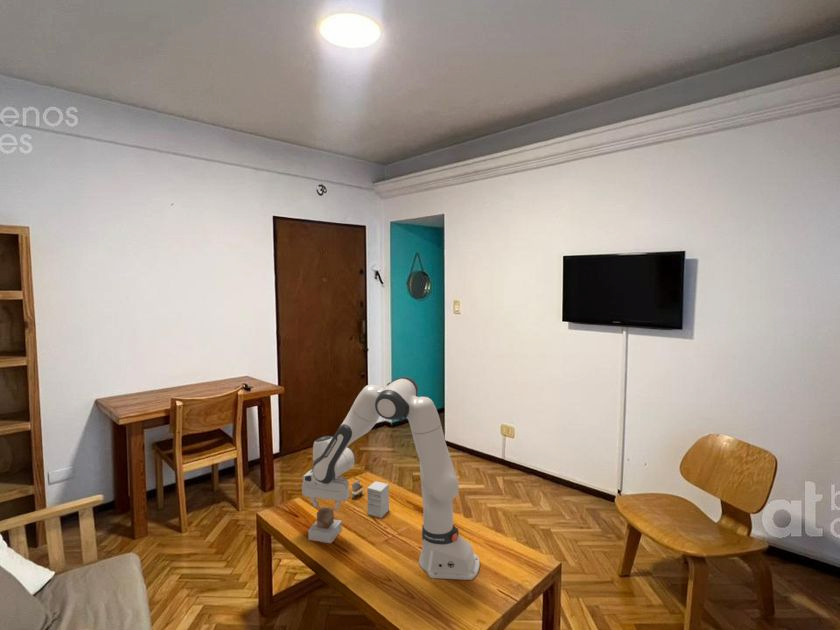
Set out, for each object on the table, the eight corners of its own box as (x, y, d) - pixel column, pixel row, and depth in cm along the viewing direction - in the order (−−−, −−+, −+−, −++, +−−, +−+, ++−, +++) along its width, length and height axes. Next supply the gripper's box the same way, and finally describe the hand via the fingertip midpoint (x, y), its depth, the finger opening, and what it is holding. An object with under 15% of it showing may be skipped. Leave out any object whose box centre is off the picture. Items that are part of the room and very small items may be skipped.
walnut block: (333, 522, 187) (333, 508, 187) (328, 528, 183) (327, 514, 182) (322, 520, 189) (322, 506, 188) (317, 527, 184) (316, 513, 183)
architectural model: (365, 495, 220) (364, 480, 219) (356, 501, 214) (355, 486, 213) (359, 493, 222) (359, 479, 221) (350, 499, 216) (350, 484, 215)
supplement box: (375, 506, 208) (375, 480, 207) (389, 510, 205) (389, 483, 204) (367, 514, 202) (366, 487, 200) (381, 518, 198) (380, 490, 197)
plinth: (341, 529, 190) (341, 519, 189) (330, 543, 180) (330, 533, 180) (320, 526, 192) (320, 516, 192) (308, 539, 183) (308, 529, 182)
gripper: (351, 474, 184) (352, 507, 185) (307, 469, 190) (308, 501, 191) (344, 481, 178) (346, 515, 179) (299, 476, 184) (300, 508, 185)
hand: (326, 507), depth 185 cm, fingers open, 8 cm apart
